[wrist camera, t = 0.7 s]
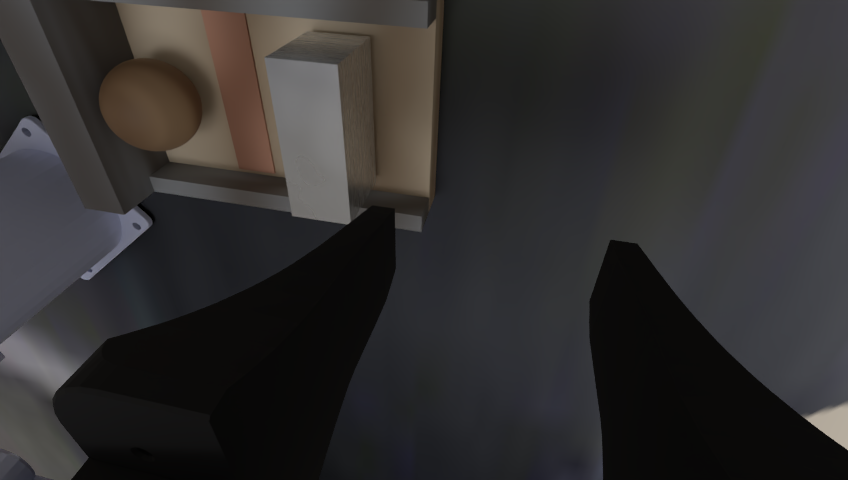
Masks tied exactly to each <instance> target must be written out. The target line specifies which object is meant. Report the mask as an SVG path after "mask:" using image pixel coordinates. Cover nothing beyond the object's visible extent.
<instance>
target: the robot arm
mask: <svg viewBox="0 0 848 480" xmlns="http://www.w3.org/2000/svg"><path fill="white" fill-rule="evenodd" d="M152 224H153V223H152V219H151V218H150V217H149V216H148V215H147V214H146V213H145V212H144V211H143V210H142V209H140V208H139V207H138V206H135V207H134V208H133V209H131V210H130V211H129V212H128V213H126V214H125V215H122V214H116V213H110V212H104V211H98V210H91V209H85V207H84V205H83V203H82V201H81V199H80V197H79V195H78V193H77V191H76V189H75V187H74V185H73V183H72V181H71V179H70V177H69V175H68V173H67V171H66V169H65V167H64V165H63V163H62V161H61V159H60V157H59V155H58V153H57V151H56V149H55V147H54V145H53V143H52V141H51V139H50V137H49V135H48V133H47V131H46V129H45V127H44V125H43V123H42V122H41V121H40V120H39V119H37V118H36V117H33V116H27V117H25V118H23V119H22V120H21V121H20V123H19V124H18V126H17V128H16V129H15V131H14V132H13V134H12V136H11V137H10V139H9V140H8V142H7V144H6V145H5V147H4V148H3V150H2V152H1V153H0V344H1V343H2V342H4V341H5V340H6V339H7V338H8V337H9V336H11V335H12V334H13V333H14V332H15V331H17V330H18V329H19V328H20V327H21V326H23V325H24V324H25V323H26V322H27V321H29V320H30V319H31V318H32V317H33V316H35V315H36V314H37V313H38V312H39V311H40V310H42V309H43V308H44V307H45V306H46V305H48V304H49V303H50V302H51V301H52V300H54V299H55V298H56V297H57V296H58V295H60V294H61V293H62V292H63V291H64V290H65V289H67V288H68V287H69V286H70V285H71V284H73V283H74V282H75V281H76V280H77V279H79V278H80V277H81V278H82V279H85V280H89V279H91V278H92V277H93V276H94V275H95V274H96V273H98V272H99V271H100V270H101V269H102V268H103V267H104V266H106V265H107V264H108V263H109V262H110V261H111V260H112V259H114V258H115V257H116V256H117V255H118V254H119V253H121V252H122V251H123V250H124V249H125V248H126V247H127V246H129V245H130V244H131V243H132V242H133V241H134V240H135V239H137V238H138V237H139V236H140V235H141V234H142V233H143V232H145V231H146V230H147V229H148V228H149V227H150V226H152ZM395 269H396V257H395V208H388V207H381V206H374V205H372V206H371V207H369V208H368V209H367V210H365V211H364V212H363V213H361V214H360V215H359V216H358V217H356V218H355V219H354V220H353V221H351V222H350V223H349V224H347V225H346V226H345V227H344V228H342V229H341V230H340V231H339V232H337V233H336V234H335V235H333V236H332V237H331V238H329V239H328V240H327V241H325V242H324V243H323V244H321V245H320V246H318V247H317V248H316V249H314V250H313V251H311V252H310V253H308V254H307V255H305V256H304V257H302V258H301V259H299V260H298V261H296V262H295V263H293V264H292V265H290V266H288V267H287V268H285V269H283V270H282V271H280V272H278V273H277V274H275V275H273V276H271V277H269V278H267V279H266V280H264V281H262V282H260V283H258V284H256V285H254V286H252V287H250V288H248V289H246V290H244V291H242V292H239V293H237V294H235V295H233V296H231V297H228V298H226V299H224V300H222V301H220V302H218V303H215V304H213V305H210V306H208V307H205V308H203V309H200V310H197V311H195V312H192V313H190V314H187V315H184V316H181V317H178V318H176V319H173V320H170V321H167V322H164V323H161V324H158V325H154V326H151V327H147V328H144V329H141V330H137V331H134V332H130V333H127V334H124V335H120V336H117V337H113V338H109V339H107V340H106V341H105V342H104V343H103V344H102V345H101V346H100V347H99V348H98V349H97V350H96V351H95V352H94V353H93V354H92V355H91V356H90V357H89V358H88V359H87V360H86V361H85V362H84V364H83V365H82V366H81V367H80V368H79V369H78V370H77V371H76V372H75V373H74V374H73V375H72V376H71V377H70V378H69V379H68V380H67V381H66V382H65V383H64V384H63V385H62V386H61V387H60V388H59V389H58V390H57V391H56V393H55V395H54V397H53V407H54V411H55V414H56V416H57V417H58V419H59V421H60V422H61V424H62V425H63V426H64V427H65V429H66V430H67V431H68V432H69V434H70V435H71V436H72V437H73V439H74V440H75V441H76V442H77V443H78V445H79V446H80V447H81V448H82V450H83V451H84V452H85V453H86V455H87V456H88V457H89V458H88V460H87V461H86V462H85V463H84V465H83V466H82V467H81V468H80V470H79V471H78V472H77V473H76V475H75V476H74V477H73V478H72V479H71V480H319V476H320V473H321V470H322V466H323V463H324V460H325V456H326V453H327V450H328V447H329V443H330V440H331V437H332V434H333V431H334V428H335V424H336V421H337V418H338V415H339V412H340V409H341V406H342V403H343V400H344V397H345V394H346V391H347V388H348V385H349V383H350V380H351V378H352V375H353V373H354V370H355V368H356V366H357V364H358V361H359V359H360V357H361V355H362V353H363V350H364V348H365V346H366V344H367V342H368V340H369V337H370V335H371V333H372V331H373V329H374V326H375V324H376V322H377V320H378V318H379V315H380V313H381V311H382V309H383V306H384V304H385V302H386V299H387V296H388V293H389V289H390V286H391V283H392V279H393V276H394V273H395ZM589 329H590V345H591V352H592V360H593V368H594V375H595V382H596V389H597V397H598V404H599V411H600V419H601V430H602V449H603V480H848V450H847V449H845V448H844V447H842V446H841V445H840V444H838V443H837V442H835V441H834V440H833V439H831V438H830V437H828V436H827V435H826V434H824V433H823V432H822V431H820V430H819V429H818V428H816V427H815V426H814V425H812V424H811V423H810V422H808V421H807V420H806V419H805V418H803V417H802V416H801V415H799V414H798V413H797V412H796V411H794V410H793V409H792V408H791V407H790V406H788V405H787V404H786V403H785V402H783V401H782V400H781V399H780V398H779V397H777V396H776V395H775V394H774V393H772V392H771V391H770V390H769V389H768V388H766V387H765V386H764V385H763V384H762V383H761V382H760V381H758V380H757V379H756V378H755V377H754V376H753V375H752V374H751V373H750V372H748V371H747V370H746V369H745V368H744V367H743V366H742V365H741V364H740V363H739V362H738V361H737V360H736V359H735V358H734V357H733V356H732V355H730V354H729V353H728V352H727V351H726V350H725V349H724V348H723V347H722V346H721V345H720V344H719V343H718V342H717V341H716V340H715V338H714V337H713V336H712V335H711V334H710V333H709V332H708V331H707V330H706V329H705V328H704V326H703V325H702V324H701V323H700V322H699V321H698V320H697V319H696V318H695V317H694V315H693V314H692V313H691V312H690V311H689V310H688V308H687V307H686V306H685V305H684V304H683V302H682V301H681V300H680V299H679V298H678V296H677V295H676V294H675V293H674V291H673V290H672V289H671V288H670V286H669V285H668V284H667V282H666V281H665V280H664V279H663V277H662V276H661V275H660V273H659V272H658V271H657V269H656V268H655V267H654V265H653V264H652V263H651V261H650V260H649V259H648V257H647V256H646V255H645V253H644V252H643V251H642V249H641V248H640V247H639V245H638V244H636V243H629V242H622V241H615V240H610V243H609V246H608V249H607V251H606V254H605V257H604V260H603V263H602V266H601V269H600V272H599V275H598V278H597V281H596V284H595V287H594V290H593V292H592V295H591V298H590V316H589ZM4 358H5V356H4V355H3V354H2V353H1V352H0V361H2V360H3V359H4ZM0 480H52V479H49V478H45V477H41V476H37V475H35V472H34V470H33V469H32V468H31V466H30V465H29V464H28V463H27V462H26V461H24V460H23V459H22V458H21V457H19V456H17V455H15V454H14V453H12V452H9V451H6V450H4V449H0Z"/></svg>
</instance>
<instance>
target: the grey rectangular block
mask: <svg viewBox="0 0 848 480" xmlns="http://www.w3.org/2000/svg"><path fill="white" fill-rule="evenodd" d="M264 59H265V64H266V70H267V76H268V81H269V87H270V93H271V98H272V104H273V110H274V115H275V121H276V127H277V132H278V138H279V144H280V149H281V155H282V161H283V166H284V172H285V178H286V183H287V189H288V195H289V200H290V206H291V212H292V216H296V217H302V218H309V219H316V220H322V221H329V222H335V223H342V224H349V223H350V222H351V221H353V220H354V219H355V217H356V215H357V214H358V212H359V210H360V209H361V207H362V205H363V204H364V202H365V200H366V198H367V197H368V195H369V193H370V192H371V190H372V188H373V186H374V185H375V183H376V166H375V142H374V118H373V93H372V69H371V45H370V37H367V36H356V35H344V34H333V33H322V32H310V31H307V32H305V33H304V34H302V35H300V36H299V37H297V38H295V39H294V40H292V41H290V42H289V43H287V44H286V45H284V46H282V47H281V48H279V49H277V50H276V51H274V52H273V53H271V54H269V55H268V56H266V57H264Z"/></svg>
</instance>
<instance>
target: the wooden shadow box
mask: <svg viewBox="0 0 848 480" xmlns="http://www.w3.org/2000/svg"><path fill="white" fill-rule="evenodd" d="M443 16H444V0H0V39H1V41H2V43H3V45H4V47H5V49H6V51H7V53H8V55H9V57H10V59H11V61H12V63H13V65H14V67H15V69H16V71H17V73H18V75H19V77H20V79H21V81H22V83H23V85H24V87H25V89H26V91H27V93H28V95H29V97H30V99H31V101H32V103H33V105H34V107H35V109H36V111H37V113H38V115H39V117H40V119H41V121H42V123H43V125H44V127H45V129H46V131H47V133H48V135H49V137H50V139H51V141H52V143H53V145H54V147H55V149H56V151H57V153H58V155H59V157H60V159H61V161H62V163H63V165H64V167H65V169H66V171H67V173H68V175H69V177H70V179H71V181H72V183H73V185H74V187H75V189H76V191H77V193H78V195H79V197H80V199H81V201H82V203H83V205H84V207H85V209H91V210H98V211H104V212H110V213H116V214H122V215H125V214H126V213H128V212H129V211H130V210H131V209H133V208H134V207H135V206H137V205H138V204H139V203H140V202H142V201H143V200H144V199H146V198H147V197H148V196H149V195H151V194H152V193H153V192H161V193H168V194H175V195H181V196H188V197H194V198H201V199H208V200H214V201H221V202H227V203H234V204H241V205H247V206H254V207H260V208H267V209H274V210H280V211H287V212H291V206H290V200H289V195H288V189H287V183H286V178H285V172H284V166H283V161H282V155H281V149H280V144H279V138H278V132H277V127H276V121H275V115H274V110H273V104H272V98H271V93H270V87H269V81H268V76H267V70H266V64H265V59H264V57H266V56H268V55H269V54H271V53H273V52H274V51H276V50H277V49H279V48H281V47H282V46H284V45H286V44H287V43H289V42H290V41H292V40H294V39H295V38H297V37H299V36H300V35H302V34H304V33H305V32H307V31H310V32H322V33H333V34H344V35H356V36H367V37H370V45H371V69H372V93H373V118H374V142H375V166H376V183H375V185H374V186H373V188H372V190H371V192H370V193H369V195H368V197H367V198H366V200H365V202H364V204H363V205H362V207H361V209H360V210H359V212H358V214H357V215H356V217H358V216H359V215H360V214H361V213H363V212H364V211H365V210H367V209H368V208H369V207H371V206H372V205H374V206H381V207H388V208H395V228H399V229H406V230H412V231H419V232H421V231H422V229H423V226H424V223H425V221H426V218H427V215H428V213H429V210H430V207H431V205H432V202H433V199H434V197H435V182H436V161H437V141H438V120H439V99H440V78H441V58H442V37H443ZM356 217H355V218H356Z"/></svg>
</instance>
